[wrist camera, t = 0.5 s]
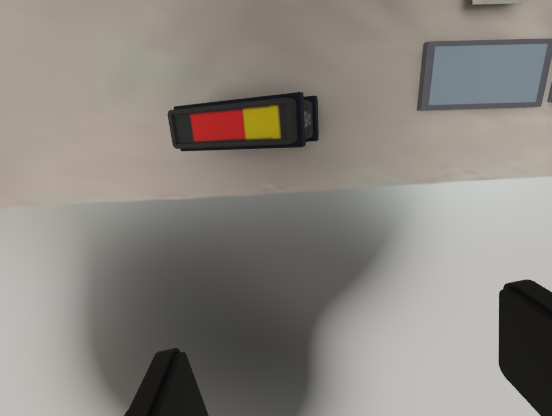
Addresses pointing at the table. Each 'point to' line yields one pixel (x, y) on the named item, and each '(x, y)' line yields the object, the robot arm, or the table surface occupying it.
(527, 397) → the robot arm
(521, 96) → the phone
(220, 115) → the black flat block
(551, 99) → the power strip
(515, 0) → the charger plug
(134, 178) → the table surface
